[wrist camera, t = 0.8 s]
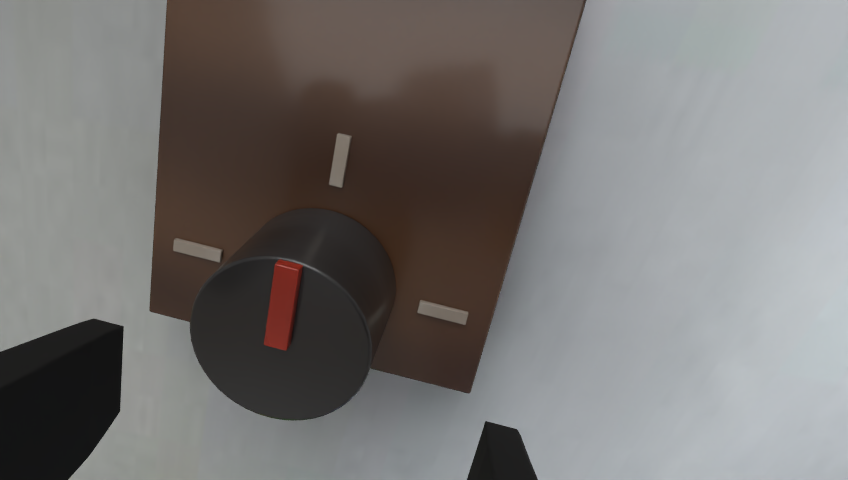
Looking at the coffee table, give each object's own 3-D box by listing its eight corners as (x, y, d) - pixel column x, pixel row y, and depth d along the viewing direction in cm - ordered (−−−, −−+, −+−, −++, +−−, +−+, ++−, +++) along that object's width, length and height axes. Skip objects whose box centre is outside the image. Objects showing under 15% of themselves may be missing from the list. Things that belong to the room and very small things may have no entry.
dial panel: (462, 386, 22) (455, 445, 20) (189, 316, 23) (143, 364, 20) (583, -31, 17) (598, -36, 14) (226, -114, 18) (169, -135, 15)
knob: (380, 364, 19) (350, 449, 15) (237, 327, 19) (176, 403, 16) (410, 228, 17) (385, 290, 14) (253, 190, 17) (189, 240, 14)
